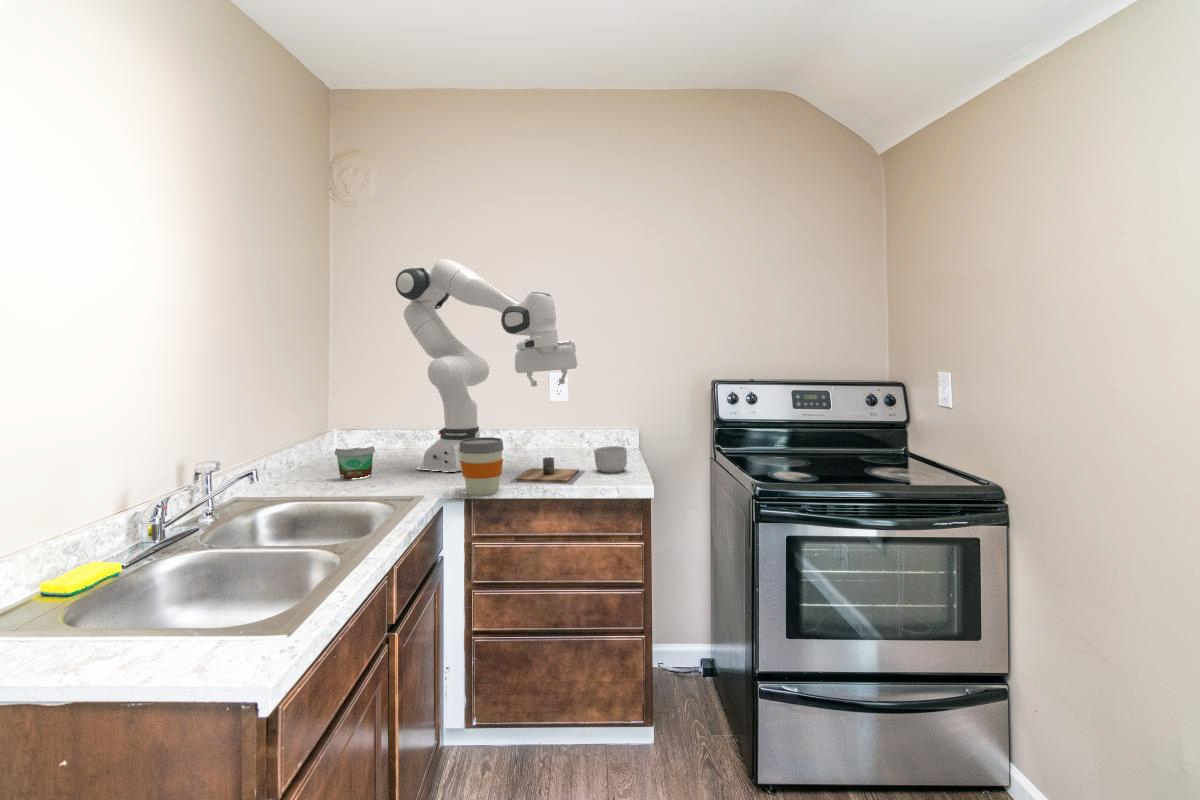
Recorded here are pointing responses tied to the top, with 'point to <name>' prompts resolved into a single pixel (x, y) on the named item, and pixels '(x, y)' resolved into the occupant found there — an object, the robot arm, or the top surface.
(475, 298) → the robot arm
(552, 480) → the walnut lid
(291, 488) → the top surface
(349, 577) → the top surface
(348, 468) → the food container
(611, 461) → the teacup
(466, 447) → the reusable coffee cup
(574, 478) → the rubber mat
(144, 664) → the top surface
